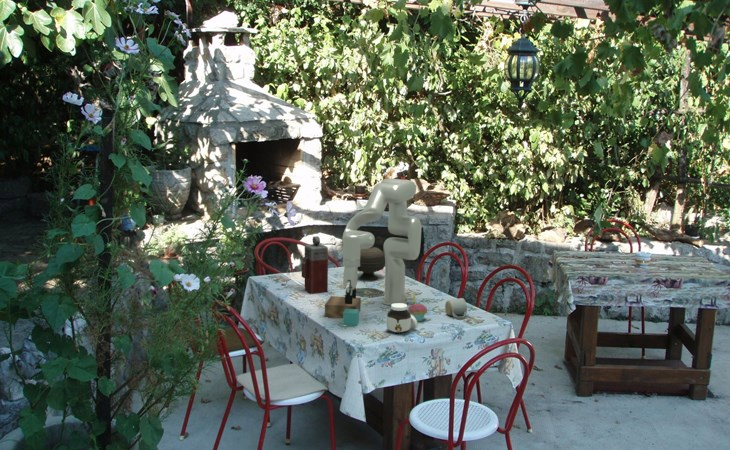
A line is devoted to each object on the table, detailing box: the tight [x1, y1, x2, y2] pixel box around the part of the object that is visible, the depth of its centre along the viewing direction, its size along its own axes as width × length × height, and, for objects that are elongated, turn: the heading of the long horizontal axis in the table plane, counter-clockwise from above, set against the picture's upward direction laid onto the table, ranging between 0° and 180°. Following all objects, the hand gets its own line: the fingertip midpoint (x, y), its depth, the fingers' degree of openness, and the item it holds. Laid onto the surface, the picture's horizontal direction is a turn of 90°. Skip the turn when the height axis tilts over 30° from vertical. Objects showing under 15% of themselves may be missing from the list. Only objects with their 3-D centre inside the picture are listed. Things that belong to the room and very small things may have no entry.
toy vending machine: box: [301, 235, 329, 295], centre depth 388 cm, size 9×11×28 cm
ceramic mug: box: [444, 297, 468, 320], centre depth 352 cm, size 11×8×8 cm
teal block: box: [342, 309, 360, 327], centre depth 338 cm, size 6×6×6 cm
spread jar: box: [386, 303, 419, 335], centre depth 329 cm, size 12×11×12 cm
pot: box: [358, 246, 385, 282], centre depth 415 cm, size 18×18×20 cm
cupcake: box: [407, 295, 428, 322], centre depth 345 cm, size 9×8×12 cm
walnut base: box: [324, 295, 362, 320], centre depth 353 cm, size 14×14×6 cm
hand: (350, 301), depth 336 cm, fingers open, 9 cm apart
